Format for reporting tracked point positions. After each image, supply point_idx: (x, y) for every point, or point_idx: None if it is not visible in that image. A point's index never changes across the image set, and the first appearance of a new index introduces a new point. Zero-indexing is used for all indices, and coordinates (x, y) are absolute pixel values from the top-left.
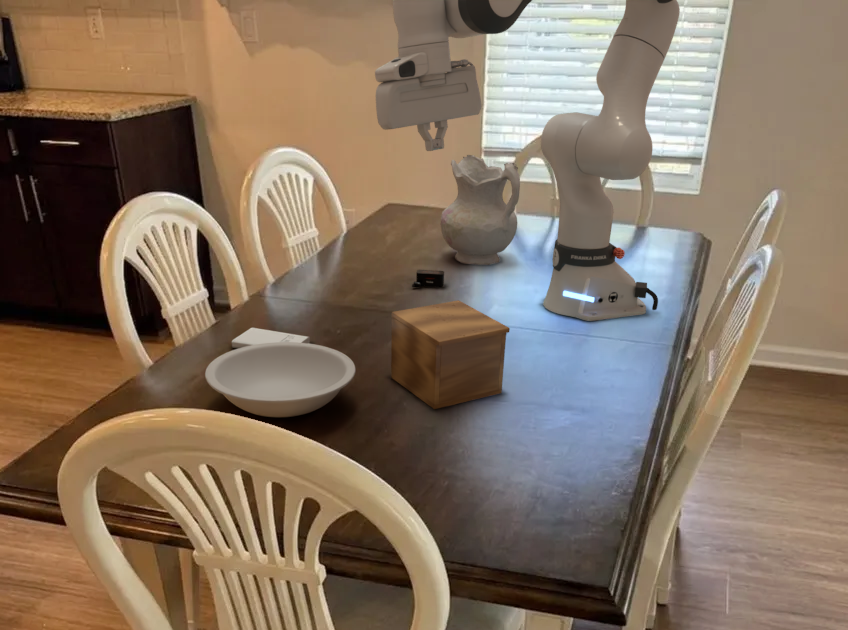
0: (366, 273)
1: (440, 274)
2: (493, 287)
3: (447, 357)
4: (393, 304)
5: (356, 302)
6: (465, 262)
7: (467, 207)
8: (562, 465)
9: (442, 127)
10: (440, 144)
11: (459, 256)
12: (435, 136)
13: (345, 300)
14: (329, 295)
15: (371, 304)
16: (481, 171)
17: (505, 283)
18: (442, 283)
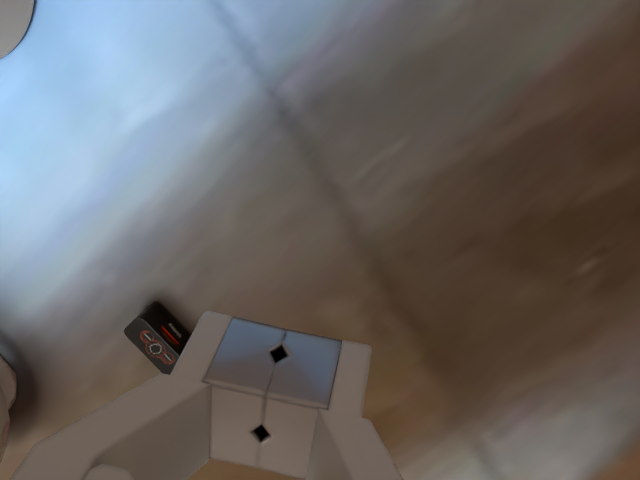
0: (238, 475)
1: (146, 321)
2: (50, 221)
3: None
4: (331, 304)
5: (392, 372)
6: (9, 372)
7: None
8: None
9: (119, 468)
10: (239, 341)
11: (5, 397)
12: (193, 473)
13: (403, 397)
14: (408, 442)
15: (374, 339)
16: None
17: (9, 221)
18: (152, 306)
